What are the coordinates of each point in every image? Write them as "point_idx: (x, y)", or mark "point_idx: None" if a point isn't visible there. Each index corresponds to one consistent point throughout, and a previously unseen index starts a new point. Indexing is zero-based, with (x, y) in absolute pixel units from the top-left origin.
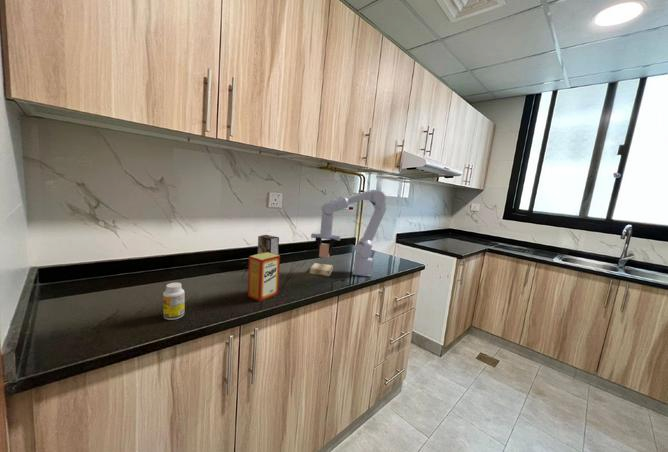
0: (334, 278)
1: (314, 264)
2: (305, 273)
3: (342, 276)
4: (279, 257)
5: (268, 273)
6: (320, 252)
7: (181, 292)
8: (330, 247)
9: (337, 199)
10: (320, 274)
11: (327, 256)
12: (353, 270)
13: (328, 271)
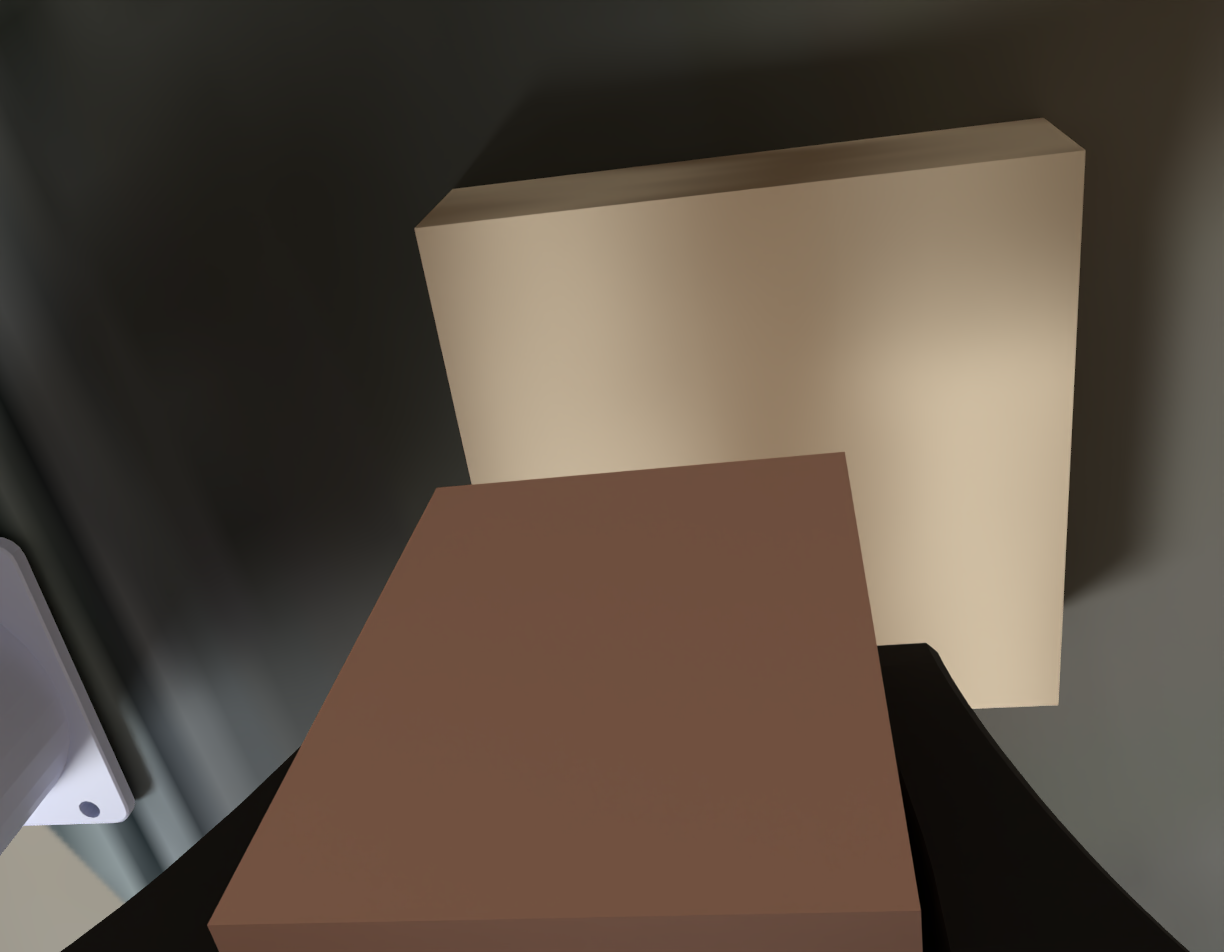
0: (253, 56)
1: (1029, 593)
2: (1175, 46)
3: (152, 314)
4: None
5: None
6: (802, 574)
7: None
8: (186, 902)
9: None
10: (705, 161)
11: (449, 517)
12: (89, 739)
13: (456, 220)
